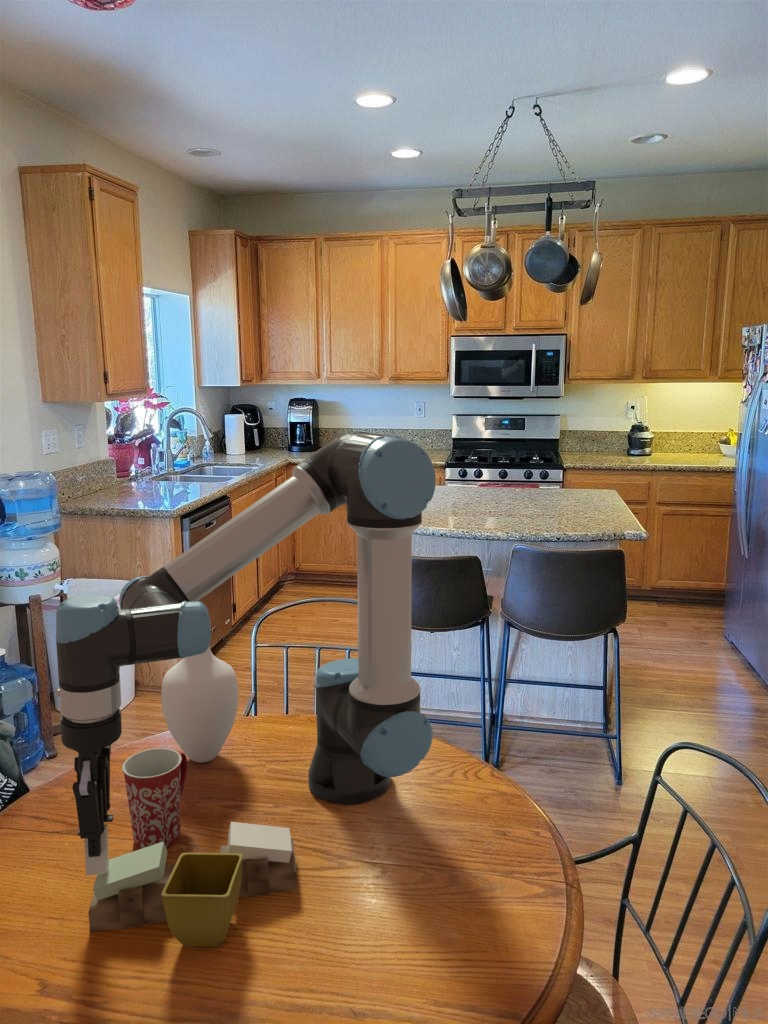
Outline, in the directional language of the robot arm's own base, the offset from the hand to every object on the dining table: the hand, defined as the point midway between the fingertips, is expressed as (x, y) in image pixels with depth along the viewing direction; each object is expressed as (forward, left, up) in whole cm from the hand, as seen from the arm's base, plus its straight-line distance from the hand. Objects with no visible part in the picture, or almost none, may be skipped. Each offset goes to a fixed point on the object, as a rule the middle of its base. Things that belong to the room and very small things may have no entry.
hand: (97, 870), depth 101 cm
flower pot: (-15, +7, -7) cm, 18 cm away
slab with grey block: (-5, 0, -6) cm, 8 cm away
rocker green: (-5, 0, -2) cm, 5 cm away
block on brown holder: (-22, -3, -6) cm, 23 cm away
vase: (-12, -40, -7) cm, 42 cm away
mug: (-7, -17, -7) cm, 19 cm away
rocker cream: (-22, -3, -2) cm, 22 cm away
